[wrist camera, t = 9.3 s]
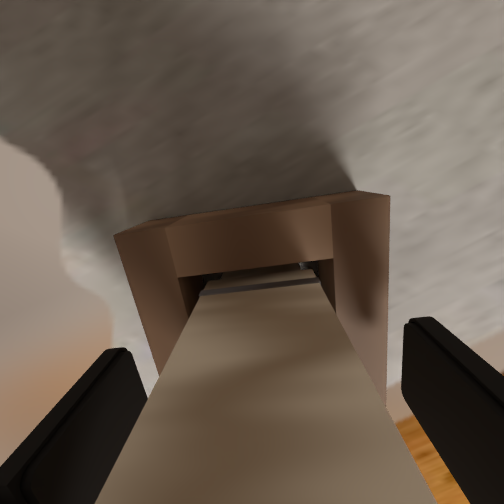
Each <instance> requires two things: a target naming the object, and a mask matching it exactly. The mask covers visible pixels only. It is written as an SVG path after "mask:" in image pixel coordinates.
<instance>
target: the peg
mask: <svg viewBox="0 0 504 504" xmlns="http://www.w3.org/2000/svg"><path fill="white" fill-rule="evenodd" d="M95 504H437V502H436V500H435V498H434V496H433V494H432V492H431V491H430V489H429V487H428V485H427V483H426V481H425V479H424V478H423V476H422V474H421V472H420V470H419V468H418V466H417V464H416V463H415V461H414V459H413V457H412V455H411V453H410V451H409V449H408V448H407V446H406V444H405V442H404V440H403V438H402V436H401V435H400V433H399V431H398V429H397V427H396V425H395V423H394V421H393V420H392V418H391V416H390V414H389V412H388V411H387V408H386V406H385V405H384V403H383V401H382V399H381V397H380V395H379V393H378V392H377V390H376V388H375V386H374V384H373V382H372V380H371V378H370V377H369V375H368V373H367V371H366V369H365V367H364V365H363V363H362V362H361V360H360V358H359V356H358V354H357V352H356V350H355V349H354V347H353V345H352V343H351V341H350V339H349V337H348V335H347V334H346V332H345V330H344V328H343V326H342V324H341V322H340V321H339V319H338V317H337V315H336V313H335V311H334V309H333V307H332V306H331V304H330V302H329V300H328V298H327V296H326V294H325V292H324V291H323V289H322V287H321V281H320V279H319V278H318V277H316V276H315V274H314V272H313V270H312V269H305V270H301V269H300V266H299V264H298V263H291V264H283V265H275V266H267V267H259V268H251V269H243V270H235V271H227V272H223V274H222V277H221V279H220V280H213V281H208V282H207V284H206V286H205V288H204V290H201V292H200V294H199V300H198V302H197V304H196V306H195V308H194V310H193V311H192V313H191V315H190V317H189V319H188V321H187V323H186V325H185V327H184V329H183V331H182V333H181V335H180V337H179V339H178V341H177V343H176V345H175V347H174V349H173V351H172V353H171V355H170V357H169V359H168V361H167V363H166V365H165V366H164V368H163V370H162V372H161V374H160V376H159V378H158V380H157V382H156V384H155V386H154V388H153V390H152V392H151V394H150V396H149V398H148V400H147V402H146V404H145V406H144V408H143V410H142V412H141V414H140V416H139V418H138V420H137V421H136V423H135V425H134V427H133V429H132V431H131V433H130V435H129V437H128V439H127V441H126V443H125V445H124V447H123V449H122V451H121V453H120V455H119V457H118V459H117V461H116V463H115V465H114V467H113V469H112V471H111V473H110V475H109V477H108V478H107V480H106V482H105V484H104V486H103V488H102V490H101V492H100V494H99V496H98V498H97V500H96V502H95Z"/></svg>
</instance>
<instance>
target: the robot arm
mask: <svg viewBox="0 0 504 504" xmlns="http://www.w3.org/2000/svg"><path fill="white" fill-rule="evenodd" d="M401 390H402V394H403V397H404V399H405V401H406V403H407V404H408V406H409V407H410V409H411V411H412V412H413V414H414V415H415V417H416V419H417V420H418V422H419V423H420V425H421V426H422V428H423V430H424V431H425V433H426V434H427V436H428V437H429V439H430V441H431V442H432V444H433V445H434V447H435V449H436V450H437V452H438V453H439V455H440V456H441V458H442V460H443V461H444V463H445V464H446V466H447V467H448V469H449V471H450V472H451V474H452V475H453V477H454V479H455V480H456V482H457V483H458V485H459V486H460V488H461V490H462V491H463V493H464V494H465V496H466V497H467V499H468V501H469V502H470V504H504V376H503V375H502V374H500V373H499V372H498V371H497V370H495V369H494V368H493V367H492V366H491V365H490V364H488V363H487V362H486V361H485V360H483V359H482V358H481V357H480V356H479V355H478V354H476V353H475V352H474V351H473V350H472V349H470V348H469V347H468V346H467V345H466V344H464V343H463V342H462V341H461V340H460V339H458V338H457V337H456V336H455V335H454V334H452V333H451V332H450V331H449V330H448V329H446V328H445V327H444V326H443V325H442V324H440V323H439V322H438V321H437V320H436V319H434V318H433V317H419V318H411V319H410V320H409V323H407V324H405V325H404V335H403V358H402V381H401ZM147 400H148V398H147V395H146V392H145V390H144V387H143V384H142V381H141V378H140V375H139V373H138V370H137V367H136V364H135V361H134V359H133V356H132V353H131V352H130V351H127V349H126V348H123V347H122V348H112V349H107V350H105V351H104V352H103V353H102V354H101V355H100V356H99V358H98V359H97V360H96V361H95V362H94V363H93V364H92V365H91V367H90V368H89V369H88V370H87V371H86V372H85V373H84V374H83V375H82V377H81V378H80V379H79V380H78V381H77V382H76V383H75V384H74V385H73V386H72V388H71V389H70V390H69V391H68V392H67V393H66V394H65V395H64V396H63V398H62V399H61V400H60V401H59V402H58V403H57V404H56V405H55V407H54V408H53V409H52V410H51V411H50V412H49V413H48V414H47V415H46V416H45V418H44V419H43V420H42V421H41V422H40V423H39V424H38V425H37V426H36V428H35V429H34V430H33V431H32V432H31V433H30V434H29V435H28V437H27V438H26V439H25V440H24V441H23V442H22V443H21V444H20V445H19V447H18V448H17V449H16V450H15V451H14V452H13V453H12V454H11V455H10V457H9V458H8V459H7V460H6V461H5V462H4V463H3V464H2V465H1V467H0V504H95V502H96V500H97V498H98V496H99V494H100V492H101V490H102V488H103V486H104V484H105V482H106V480H107V478H108V477H109V475H110V473H111V471H112V469H113V467H114V465H115V463H116V461H117V459H118V457H119V455H120V453H121V451H122V449H123V447H124V445H125V443H126V441H127V439H128V437H129V435H130V433H131V431H132V429H133V427H134V425H135V423H136V421H137V420H138V418H139V416H140V414H141V412H142V410H143V408H144V406H145V404H146V402H147Z"/></svg>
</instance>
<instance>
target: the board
mask: <svg viewBox="0 0 504 504" xmlns="http://www.w3.org/2000/svg"><path fill="white" fill-rule="evenodd" d="M389 233H390V196H389V195H383V194H377V193H370V192H364V191H358V190H356V191H350V192H343V193H336V194H329V195H322V196H315V197H308V198H302V199H295V200H288V201H281V202H274V203H267V204H260V205H254V206H247V207H240V208H233V209H226V210H219V211H212V212H206V213H199V214H192V215H185V216H178V217H171V218H164V219H158V220H151V221H147V222H145V223H142V224H140V225H137V226H135V227H132V228H130V229H127V230H125V231H122V232H120V233H117V234H115V235H113V236H114V239H115V242H116V245H117V248H118V251H119V254H120V257H121V261H122V264H123V267H124V270H125V273H126V276H127V279H128V282H129V285H130V288H131V291H132V294H133V297H134V300H135V303H136V307H137V310H138V313H139V316H140V319H141V322H142V325H143V328H144V331H145V334H146V337H147V340H148V343H149V346H150V349H151V352H152V356H153V359H154V362H155V365H156V368H157V371H158V374H159V376H160V374H161V372H162V370H163V368H164V366H165V365H166V363H167V361H168V359H169V357H170V355H171V353H172V351H173V349H174V347H175V345H176V343H177V341H178V339H179V337H180V335H181V333H182V331H183V329H184V327H185V325H186V323H187V321H188V319H189V317H190V315H191V313H192V311H193V310H194V308H195V306H196V304H197V302H198V300H199V294H200V292H201V290H204V288H205V287H204V282H203V278H202V275H203V274H211V273H219V272H227V271H235V270H243V269H251V268H259V267H267V266H275V265H283V264H291V263H299V262H307V261H315V260H318V272H319V279H320V281H321V287H322V289H323V291H324V292H325V294H326V296H327V298H328V300H329V302H330V304H331V306H332V307H333V309H334V311H335V313H336V315H337V317H338V319H339V321H340V322H341V324H342V326H343V328H344V330H345V332H346V334H347V335H348V337H349V339H350V341H351V343H352V345H353V347H354V349H355V350H356V352H357V354H358V356H359V358H360V360H361V362H362V363H363V365H364V367H365V369H366V371H367V373H368V375H369V377H370V378H371V380H372V382H373V384H374V386H375V388H376V390H377V392H378V393H379V395H380V397H381V399H382V401H383V403H384V405H385V406H386V381H387V332H388V283H389Z"/></svg>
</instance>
